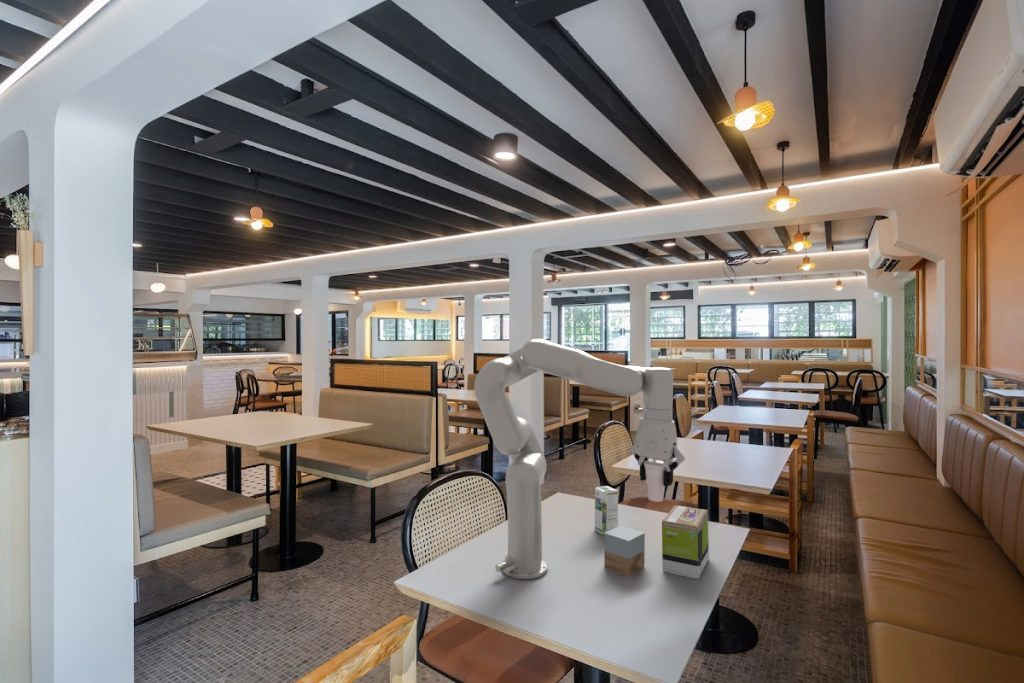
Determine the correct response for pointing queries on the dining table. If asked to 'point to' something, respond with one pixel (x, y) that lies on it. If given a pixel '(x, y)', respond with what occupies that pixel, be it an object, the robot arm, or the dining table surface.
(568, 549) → the dining table surface
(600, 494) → the syrup box
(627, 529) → the tower top
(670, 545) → the tea box
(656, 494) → the smoothie
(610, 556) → the tower base
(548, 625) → the dining table surface
